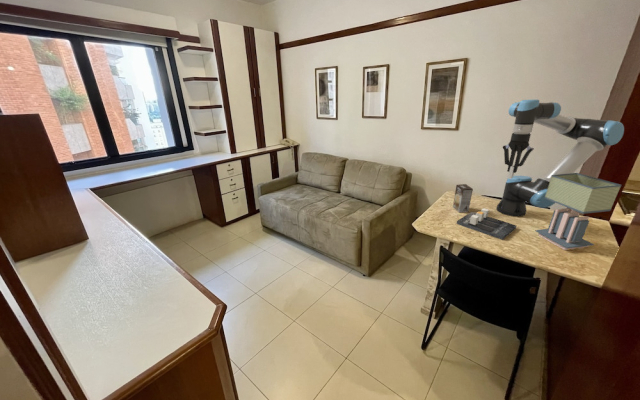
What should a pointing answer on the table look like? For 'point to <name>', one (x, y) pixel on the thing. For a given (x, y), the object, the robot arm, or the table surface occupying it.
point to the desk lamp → (576, 207)
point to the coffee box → (462, 198)
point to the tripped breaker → (480, 215)
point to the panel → (488, 226)
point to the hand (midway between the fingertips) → (510, 178)
